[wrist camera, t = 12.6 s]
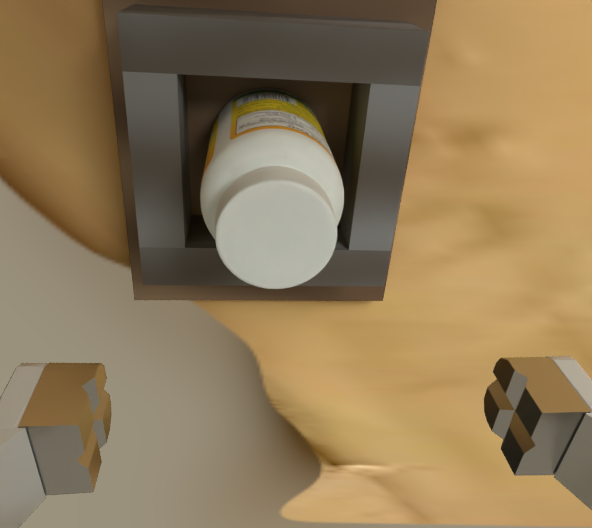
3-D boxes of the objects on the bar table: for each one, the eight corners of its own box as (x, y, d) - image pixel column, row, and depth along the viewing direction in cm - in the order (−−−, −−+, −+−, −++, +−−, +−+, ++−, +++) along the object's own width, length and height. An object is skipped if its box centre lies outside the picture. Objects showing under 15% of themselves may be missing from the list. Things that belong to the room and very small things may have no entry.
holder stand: (98, -92, 21) (65, -102, 17) (440, -64, 22) (482, -67, 18) (137, 289, 30) (122, 340, 26) (378, 291, 31) (398, 338, 28)
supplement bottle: (269, 60, 23) (285, 119, 15) (344, 146, 26) (393, 239, 17) (185, 141, 25) (157, 235, 17) (262, 216, 27) (272, 331, 19)
